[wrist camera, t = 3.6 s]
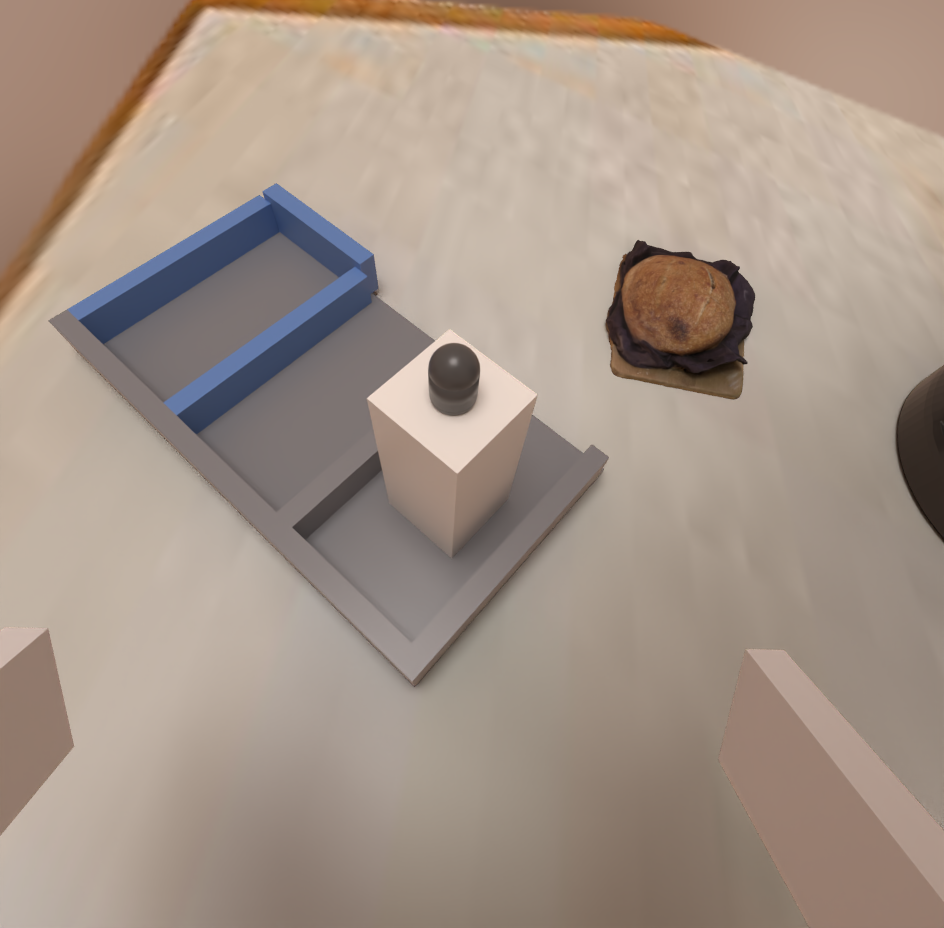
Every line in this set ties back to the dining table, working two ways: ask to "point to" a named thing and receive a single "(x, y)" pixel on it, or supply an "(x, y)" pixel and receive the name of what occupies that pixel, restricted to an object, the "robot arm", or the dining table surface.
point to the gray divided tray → (310, 417)
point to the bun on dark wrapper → (680, 321)
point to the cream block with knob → (450, 439)
